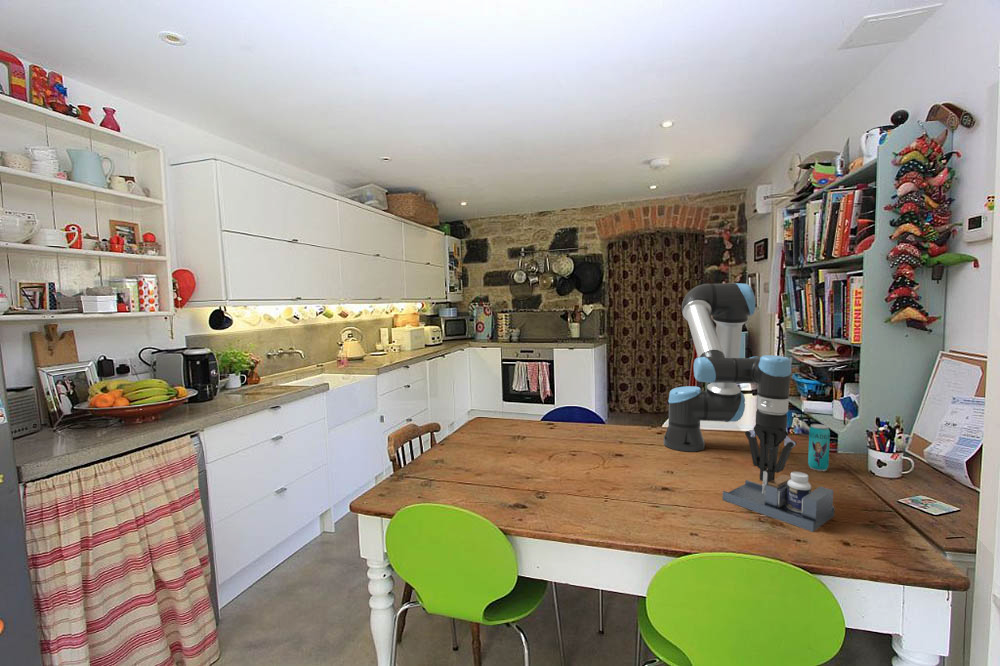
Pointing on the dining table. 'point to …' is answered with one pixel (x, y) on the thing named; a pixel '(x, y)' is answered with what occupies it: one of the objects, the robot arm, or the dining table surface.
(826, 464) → the beverage can
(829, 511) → the vise bed
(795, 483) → the pill bottle
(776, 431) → the robot arm
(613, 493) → the dining table surface
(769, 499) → the sliding jaw
